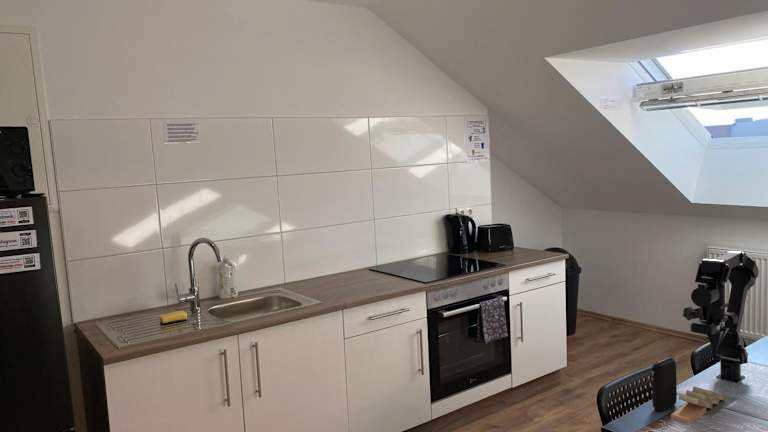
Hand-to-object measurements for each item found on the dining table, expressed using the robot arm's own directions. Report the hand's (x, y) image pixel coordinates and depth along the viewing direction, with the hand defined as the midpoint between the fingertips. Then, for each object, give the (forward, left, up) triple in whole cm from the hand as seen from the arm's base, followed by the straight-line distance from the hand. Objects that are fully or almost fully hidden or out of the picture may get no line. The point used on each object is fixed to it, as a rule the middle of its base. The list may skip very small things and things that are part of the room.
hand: (714, 349), depth 182 cm
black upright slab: (+23, -4, -13) cm, 27 cm away
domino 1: (+14, +3, -12) cm, 19 cm away
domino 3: (+10, +3, -12) cm, 16 cm away
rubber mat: (+11, +3, -13) cm, 17 cm away
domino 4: (+6, +3, -12) cm, 14 cm away
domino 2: (+18, +3, -12) cm, 22 cm away
